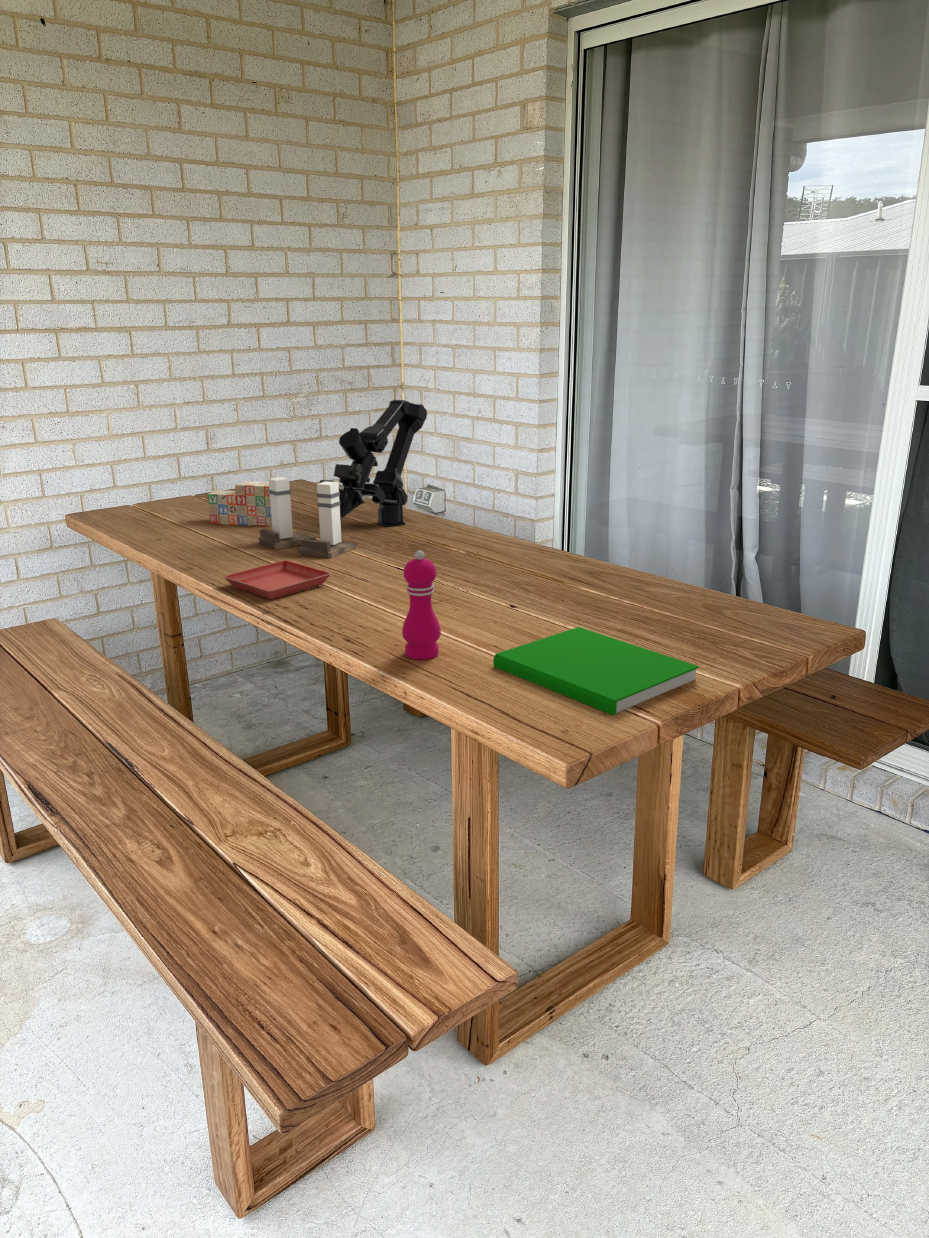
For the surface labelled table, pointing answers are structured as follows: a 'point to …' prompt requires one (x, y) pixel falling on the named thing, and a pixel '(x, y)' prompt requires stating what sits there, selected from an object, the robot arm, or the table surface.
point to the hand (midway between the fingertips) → (340, 517)
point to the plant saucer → (278, 579)
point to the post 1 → (281, 507)
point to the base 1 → (274, 542)
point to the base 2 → (324, 548)
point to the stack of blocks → (241, 505)
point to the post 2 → (329, 512)
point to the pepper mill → (420, 610)
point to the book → (595, 669)
